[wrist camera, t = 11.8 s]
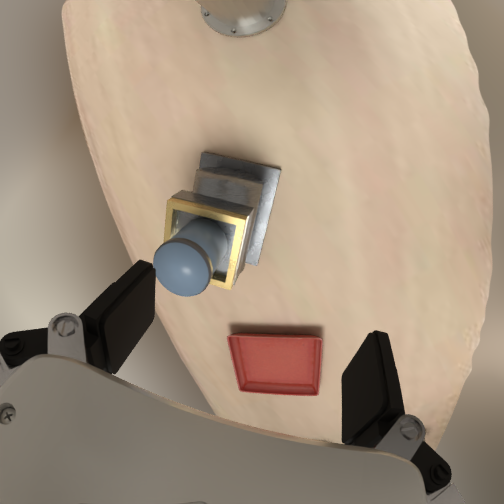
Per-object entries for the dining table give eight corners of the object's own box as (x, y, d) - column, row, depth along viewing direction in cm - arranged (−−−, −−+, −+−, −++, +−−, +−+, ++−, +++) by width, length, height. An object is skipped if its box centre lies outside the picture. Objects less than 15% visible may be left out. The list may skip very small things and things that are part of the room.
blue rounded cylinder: (182, 211, 32) (153, 234, 26) (233, 225, 32) (213, 252, 26) (177, 257, 35) (151, 287, 29) (224, 271, 35) (205, 305, 28)
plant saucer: (319, 385, 59) (318, 396, 56) (242, 382, 63) (238, 392, 60) (323, 326, 52) (323, 338, 49) (230, 324, 56) (225, 335, 53)
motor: (204, 151, 42) (158, 167, 29) (281, 169, 41) (266, 192, 28) (190, 243, 49) (151, 287, 37) (258, 263, 48) (237, 315, 36)
